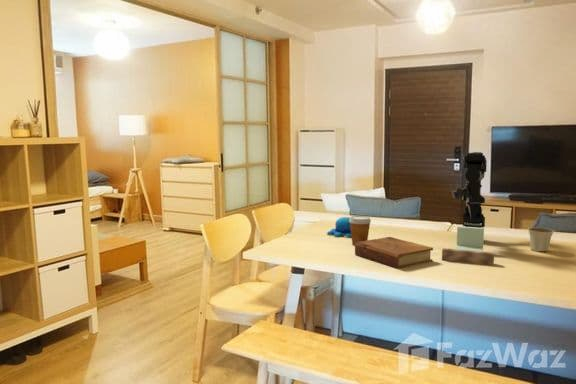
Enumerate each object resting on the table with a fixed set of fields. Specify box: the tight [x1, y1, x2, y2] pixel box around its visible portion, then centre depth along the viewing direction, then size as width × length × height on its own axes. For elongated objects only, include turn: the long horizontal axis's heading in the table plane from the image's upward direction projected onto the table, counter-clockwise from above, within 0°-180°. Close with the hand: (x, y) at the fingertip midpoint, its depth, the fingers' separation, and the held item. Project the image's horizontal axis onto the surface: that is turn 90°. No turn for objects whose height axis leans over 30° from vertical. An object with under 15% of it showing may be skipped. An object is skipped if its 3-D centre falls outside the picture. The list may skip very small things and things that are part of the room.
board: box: [441, 247, 495, 266], centre depth 172 cm, size 18×2×4 cm, turn 66°
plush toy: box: [326, 216, 352, 239], centre depth 223 cm, size 17×17×8 cm
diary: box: [354, 236, 434, 269], centre depth 178 cm, size 23×19×6 cm
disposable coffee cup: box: [349, 215, 372, 247], centre depth 200 cm, size 10×10×12 cm
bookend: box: [455, 225, 485, 252], centre depth 183 cm, size 12×10×10 cm
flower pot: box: [527, 227, 555, 252], centre depth 188 cm, size 9×9×9 cm
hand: (472, 218), depth 196 cm, fingers closed
